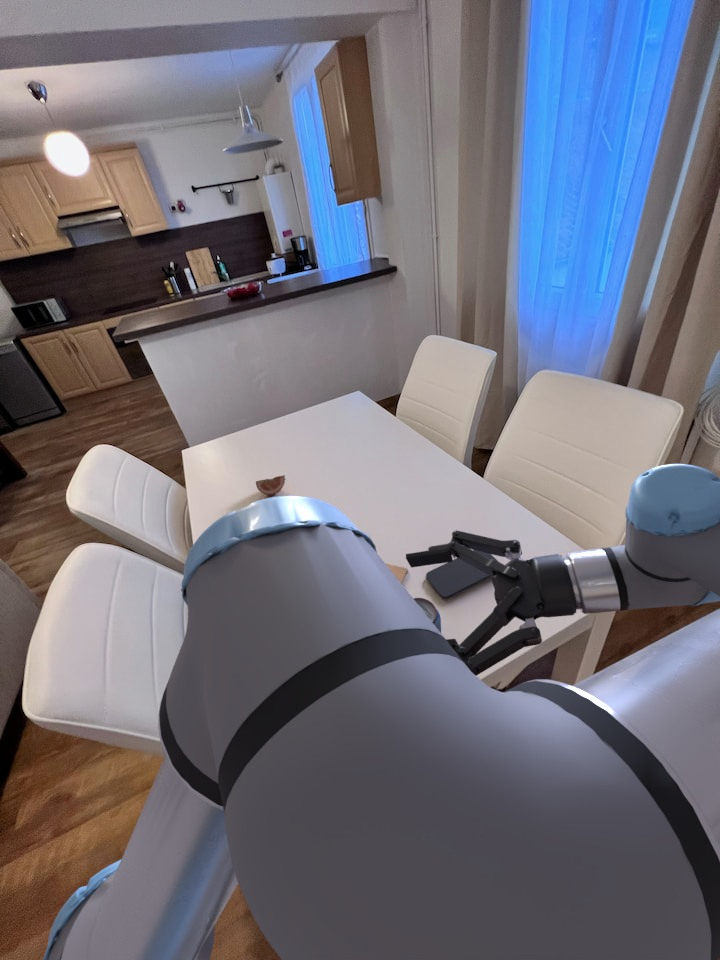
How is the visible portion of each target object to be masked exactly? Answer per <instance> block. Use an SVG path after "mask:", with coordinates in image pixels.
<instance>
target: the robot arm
mask: <svg viewBox="0 0 720 960" xmlns="http://www.w3.org/2000/svg"><path fill="white" fill-rule="evenodd" d="M630 487H631V488H630V490H629V491H630V492H629V496H628V502H627V506H625V538H624V544H621V545H614V546H609V547H599V548H591V549H584V550H577V551H568V552H567V554H566V555H565V557H563V555H561V554H559V553H556V554H548V555H541V556H534V557H533V558H530V559H524V558H523V559H522V555H523V551H522V547H521V542H520V540H517V539H507V540H501V539H496V538H492V537H487V536H483V535H479V534H475V533H470V532H466V531H462V530H454V531H452V532H451V536H452V537H451V539H450V541H449V542H447V543H442V544H436V545H431V546H429V547H428V549H427V550H423V551H416V552H410V553H406V554H405V560H406V561H407V564H408V565H409V566H410V568H417V567H425V566H431V565H438V564H439V565H441V564H446V563H448V562H453V560H454V559H456V558H458V559H460V560H462V561H464V562H466V563H468V564H470V565H471V566H473V567H475V568H477V569H479V570H481V571H482V572H484V573H486V574H488V575H489V576H490V577H489V578H491V583H492V586H493V589H494V592H493V597H494V600H495V602H496V603H495V604H496V605H495V606H494V608H493V610H492V611H491V613H490V614H488V616H487V617H486V618H485V619H484V620H483V621H482V622H480V623H479V625H478V626H477V627H475V628H474V630H473V631H472V632H471V633H470V634H468V635H467V636H466V638H465V639H463V641H461V642H460V644H459V643H458V641H457V639H456V638H447V639H446V637H445V636H444V635H443V634H442V632H441V633H440V631H439V630H438V629H437V628H436V626H435V625H434V624H433V623H432V621H431V620H430V619H429V618H428V616H427V615H426V614H425V613H424V611H423V610H422V609H421V608H420V606H419V605H418V604H417V603H416V601H415V600H414V599H413V598H414V597H413V596H412V595H411V594H410V593H409V590H407V588H406V587H405V586H404V585H403V583H402V584H401V583H400V581H399V580H398V579H397V578H396V576H395V575H394V574H393V573H392V571H391V570H390V569H389V568H388V566H387V565H386V564H387V563H386V562H385V561H384V560H383V559H382V558H381V556H380V554H379V553H378V552H377V547H376V545H375V544H374V542H373V540H372V538H371V537H370V535H367V533H366V532H365V531H361V530H360V529H358V527H357V526H356V525H355V524H354V523H353V521H351V520H350V518H349V517H348V516H347V515H346V514H345V513H344V512H343V511H341V510H340V509H339V508H338V507H336V506H334V505H333V504H331V503H328V502H326V501H324V500H321V499H318V498H314V497H310V496H303V495H279V496H272V497H266V498H262V499H259V500H255V501H251V503H249V505H246V506H244V507H242V508H240V509H238V510H237V511H235V510H234V511H229V512H228V513H226V514H224V515H222V516H221V517H220V518H218V519H217V520H215V521H214V522H213V523H212V524H211V525H209V526H208V527H207V528H206V529H204V531H203V532H202V533H201V534H200V535H199V536H198V537H197V539H196V540H195V542H194V543H193V545H192V546H191V548H190V550H189V552H188V554H187V557H186V559H185V562H184V567H183V577H182V580H181V589H180V592H181V596H182V599H183V601H184V603H185V605H186V606H187V616H188V617H187V625H186V631H185V635H184V638H183V641H182V644H181V646H180V649H179V651H178V654H177V656H176V659H175V661H174V664H173V667H172V669H171V672H170V675H169V678H168V680H167V683H166V685H165V687H164V691H163V694H162V696H161V700H160V703H159V709H158V722H157V723H158V724H157V725H158V727H157V728H158V734H159V741H160V745H161V749H162V752H163V753H164V757H163V759H162V762H161V764H160V766H159V768H158V771H157V773H156V776H155V778H154V781H153V783H152V785H151V788H150V790H149V792H148V795H147V798H146V800H145V802H144V805H143V807H142V809H141V811H140V814H139V815H138V819H137V821H136V824H135V826H134V828H133V831H132V833H131V835H130V838H129V841H128V843H127V845H126V847H125V849H124V852H123V854H122V857H121V859H119V860H117V861H115V862H113V863H111V864H109V865H108V866H106V867H105V868H103V869H101V870H100V871H98V872H97V873H96V874H94V875H93V876H91V877H90V878H89V880H88V882H87V885H84V886H81V887H78V889H76V890H75V891H74V892H73V893H72V895H71V896H70V897H69V898H68V899H67V901H65V903H64V904H63V906H62V907H61V909H60V910H59V912H58V914H57V915H56V917H55V919H54V921H53V924H52V925H51V928H50V931H49V934H48V940H47V946H46V949H45V952H44V955H43V958H42V960H211V957H212V953H213V948H214V942H215V931H216V930H215V929H216V923H217V921H218V920H219V918H220V916H221V914H222V913H223V911H224V909H225V908H226V906H227V904H228V902H229V900H230V899H231V897H232V895H233V894H234V892H235V890H236V889H237V886H239V888H240V890H241V893H242V896H243V897H244V900H245V902H246V904H247V906H248V909H249V911H250V913H251V915H252V917H253V919H254V921H255V923H256V924H257V926H258V927H259V929H260V931H261V933H262V934H263V936H264V937H265V940H266V941H267V942H268V944H269V945H270V947H271V948H272V949H273V950H274V951H275V953H276V954H277V956H278V957H279V958H280V959H281V960H719V959H720V608H717V609H716V610H714V611H711V612H710V613H708V614H706V615H704V616H702V617H701V618H699V619H696V620H695V621H693V622H691V623H689V624H687V625H685V626H683V627H682V628H680V629H678V630H675V631H673V632H672V633H670V634H667V635H666V636H663V637H662V638H661V639H659V640H657V641H654V642H653V643H651V644H649V645H647V646H645V647H643V648H642V649H639V650H637V651H636V652H634V653H632V654H629V655H628V656H626V657H624V658H622V659H620V660H618V661H617V662H614V663H613V664H611V665H608V666H607V667H605V668H602V669H601V670H600V671H598V672H595V673H594V674H591V675H590V676H588V677H586V678H584V679H583V680H580V681H578V682H576V683H574V684H573V685H571V684H568V683H565V682H562V681H557V680H552V679H545V678H544V679H541V678H538V679H537V678H536V679H531V680H527V681H524V682H521V683H519V684H517V685H515V686H513V687H511V688H509V689H506V690H505V691H499V690H498V689H495V688H492V687H489V686H488V685H487V684H486V683H485V682H483V681H482V680H481V679H480V678H479V677H478V676H479V675H480V674H481V673H484V672H486V671H487V670H489V669H490V668H492V667H494V666H495V665H497V664H498V663H500V662H502V661H504V660H505V659H507V658H508V657H510V656H512V655H513V654H515V653H517V652H519V651H520V650H522V649H524V648H528V647H533V646H538V645H541V644H542V642H543V638H542V634H541V630H540V628H539V627H538V625H537V623H536V620H537V619H539V618H556V617H557V618H558V617H568V616H575V614H577V611H578V610H580V612H581V613H583V614H584V615H588V614H599V613H610V612H622V611H628V610H640V609H641V610H642V609H653V608H654V609H655V608H667V607H669V608H670V607H682V606H683V607H684V606H685V607H694V606H695V607H696V606H700V605H703V604H710V603H716V602H720V477H718V475H717V474H715V473H714V472H713V471H711V470H709V469H706V468H704V467H701V466H697V465H693V464H687V463H669V464H668V463H667V464H662V465H658V466H655V467H652V468H650V469H648V470H646V471H644V472H643V473H641V474H640V475H639V476H638V477H636V479H635V480H634V481H633V483H632V485H631V486H630ZM473 550H477V551H481V552H485V553H489V554H491V555H492V556H496V557H501V558H506V559H508V560H509V561H508V562H507V563H506V564H503V563H502V562H500V561H499V560H497V559H496V560H497V561H496V560H494V559H489V558H487V557H485V556H483V555H481V554H479V553H477V552H475V551H473ZM385 563H386V564H385ZM515 618H517V619H518V620H521V621H523V624H520V625H519V627H518V629H516V630H513V631H512V632H510V633H508V634H507V635H505V636H504V637H501V638H500V639H499V640H498V639H497V640H496V641H495V642H493V643H491V644H490V645H488V646H486V644H487V643H488V642H490V641H491V640H492V639H493V637H495V635H496V634H498V633H499V631H501V630H502V629H503V627H507V626H508V625H509V624H510V622H512V620H513V619H515ZM485 646H486V647H485ZM484 647H485V648H484Z"/></svg>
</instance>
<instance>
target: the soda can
mask: <svg viewBox="0 0 720 960" xmlns="http://www.w3.org/2000/svg"><path fill="white" fill-rule="evenodd" d="M412 598H413V599H414V600H415V601H416V603H417V604H418V605H419V606H420V608H421V609H422V610H423V611H424V613H425V614H426V615H427V616H428V618H429V619H430V620H431V621H432V623H433V624H434V625H435V626H436V628H437V629H438V630H439V631H440V633H441V634H442V619H441V618H442V617H441V614H440V612H439V611H438V609H437V608H436V606H435V605H434V603H432V601H430V600H428V599H426V598H424V597H412Z"/></svg>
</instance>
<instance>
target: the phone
mask: <svg viewBox="0 0 720 960" xmlns="http://www.w3.org/2000/svg"><path fill="white" fill-rule="evenodd" d="M472 550H473V549H472ZM473 551H475V552H477V553H479V554H481V555H483V556H485V557H487V558H489V559H494V560H496V561H498V559H496V557H494V555H493V554H489V553H485V552H481V551H477V550H473ZM452 560H453V562H447V563H443V564H441V565H440V566H438V567H435V568H433V569H431V570H429V571H428V572H426V574H425V579H426V580H427V582H428V583H429V584H430V586H431V587H432V588H433V590H434V591H435V592H436V593H437V595H438V596H439V597H440V598H442V599H444V600H447V599H450V598H452V597H454V596H456V595H458V594H460V593H462V592H464V591H465V590H468V589H470V588H471V587H474V586H476V585H478V584H480V583H481V582H483V581H485V580H487V579H489V578H491V577H490V576H489V575H488V574H486V573H484V572H482V571H481V570H479V569H477V568H475V567H473V566H471V565H470V564H468V563H466V562H464V561H462V560H460V559H458V558H457V557H455V558H453V559H452Z"/></svg>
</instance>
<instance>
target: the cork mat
mask: <svg viewBox="0 0 720 960" xmlns="http://www.w3.org/2000/svg"><path fill="white" fill-rule="evenodd" d="M384 563H385V564H386V565H387V566H388V568H389V569H390V570H391V571H392V573H393V574H394V575H395V576H396V578H397V579H398V580H399V581H400V583H401V584H402V585H403V582H404V580H405V577H406V575H407V573H408V571H409V570H408V569H409V568H406V567H403V566H398V565H394V564H390V563H386V562H384Z"/></svg>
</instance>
